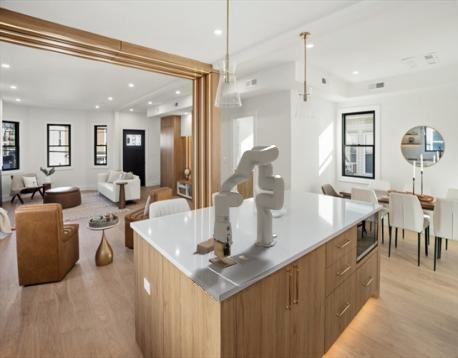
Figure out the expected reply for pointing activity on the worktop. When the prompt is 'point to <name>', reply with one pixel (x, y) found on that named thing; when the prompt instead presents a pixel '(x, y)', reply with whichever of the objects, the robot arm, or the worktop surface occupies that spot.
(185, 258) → the worktop surface
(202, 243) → the brick
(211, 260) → the walnut board
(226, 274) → the worktop surface
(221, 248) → the oak block
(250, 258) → the pad
